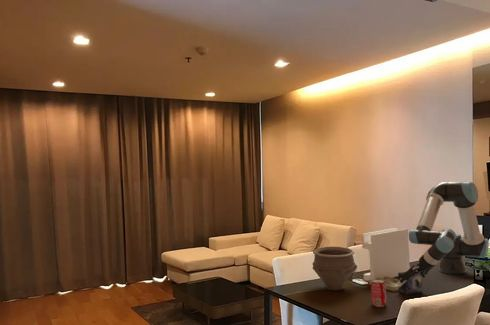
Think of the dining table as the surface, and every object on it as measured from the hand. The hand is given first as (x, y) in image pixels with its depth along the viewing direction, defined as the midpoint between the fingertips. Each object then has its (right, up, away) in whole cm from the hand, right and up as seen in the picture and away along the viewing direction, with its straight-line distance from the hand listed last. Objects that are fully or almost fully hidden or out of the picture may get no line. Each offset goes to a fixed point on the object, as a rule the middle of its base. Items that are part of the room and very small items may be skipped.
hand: (405, 283), depth 220 cm
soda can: (-21, -5, -21) cm, 30 cm away
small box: (+2, -4, -3) cm, 5 cm away
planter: (-36, -6, +10) cm, 38 cm away
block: (+1, -5, +32) cm, 32 cm away
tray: (-5, -5, +11) cm, 13 cm away
